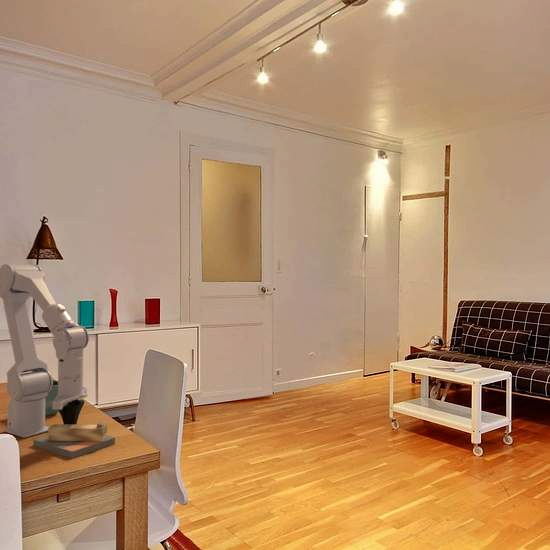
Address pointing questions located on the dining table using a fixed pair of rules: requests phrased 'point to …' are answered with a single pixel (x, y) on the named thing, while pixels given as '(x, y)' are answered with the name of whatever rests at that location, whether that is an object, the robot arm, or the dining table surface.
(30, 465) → the dining table surface
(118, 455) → the dining table surface
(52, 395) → the flower pot
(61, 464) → the dining table surface
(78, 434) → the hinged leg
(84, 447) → the grey rectangular frame
